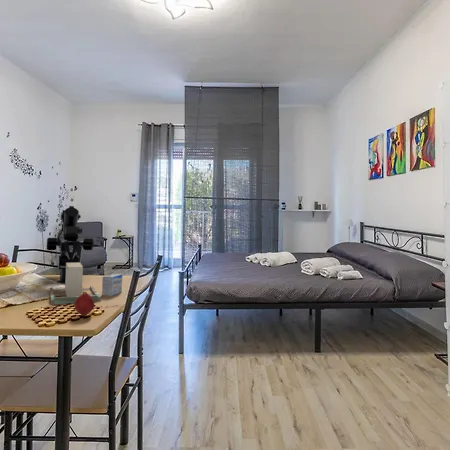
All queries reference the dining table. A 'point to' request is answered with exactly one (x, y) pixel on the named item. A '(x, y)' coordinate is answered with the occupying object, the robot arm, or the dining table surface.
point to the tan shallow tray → (65, 299)
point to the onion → (84, 304)
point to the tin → (73, 279)
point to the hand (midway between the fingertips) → (71, 259)
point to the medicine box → (112, 284)
